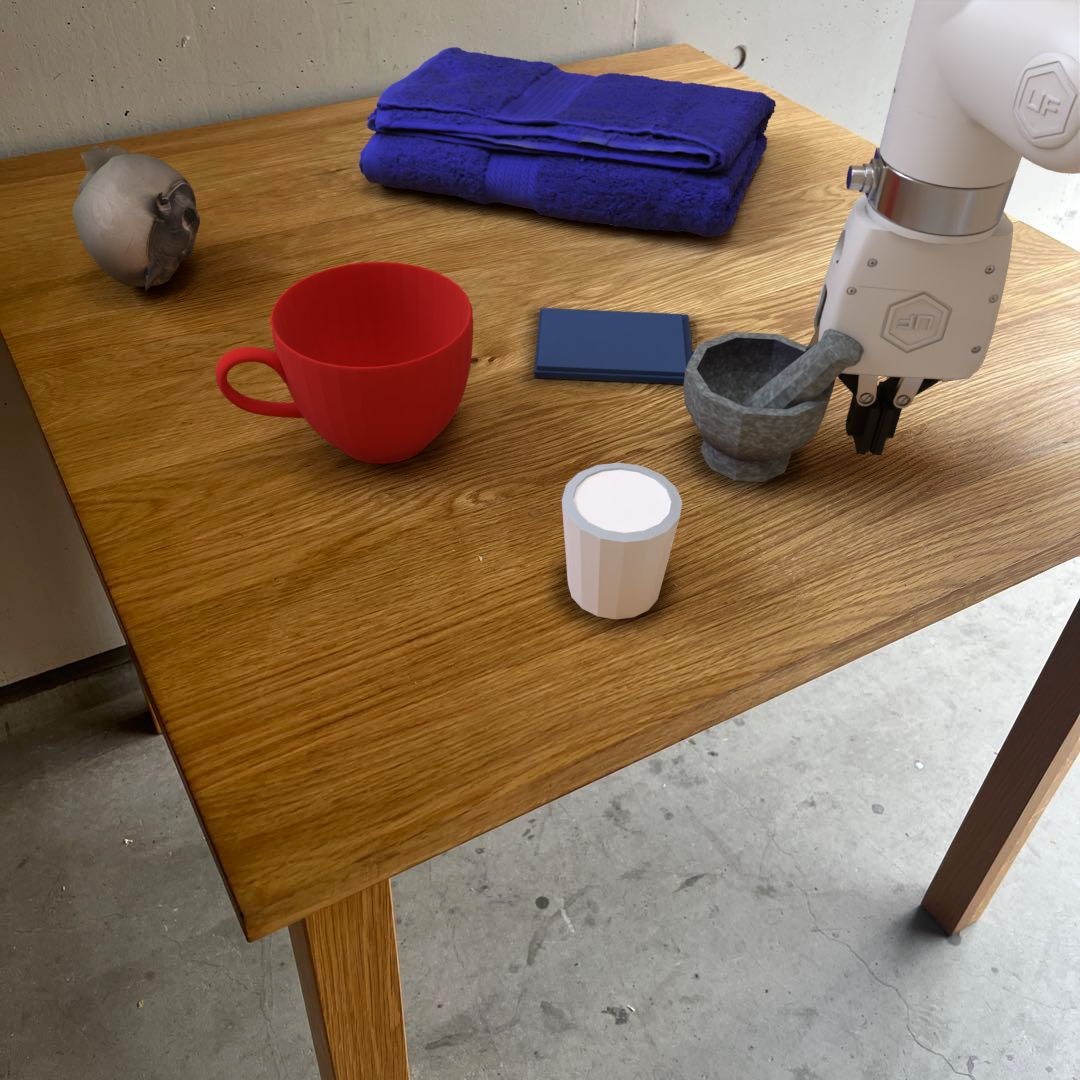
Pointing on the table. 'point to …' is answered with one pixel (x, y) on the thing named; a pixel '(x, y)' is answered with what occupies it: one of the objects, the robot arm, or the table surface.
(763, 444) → the mortar and pestle
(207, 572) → the table surface
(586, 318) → the blue flat slab
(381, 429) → the ceramic cup
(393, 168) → the towel
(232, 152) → the table surface
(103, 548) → the table surface
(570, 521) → the beige tapered cup
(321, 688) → the table surface
